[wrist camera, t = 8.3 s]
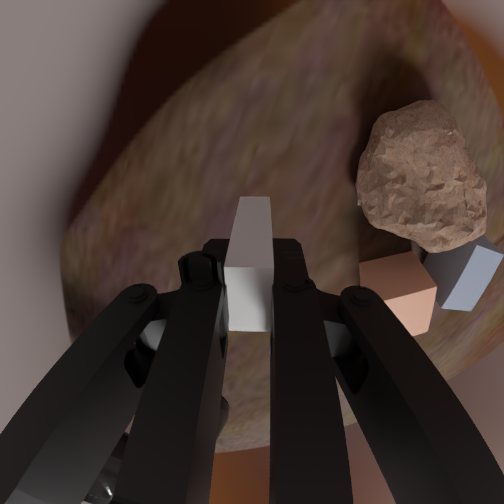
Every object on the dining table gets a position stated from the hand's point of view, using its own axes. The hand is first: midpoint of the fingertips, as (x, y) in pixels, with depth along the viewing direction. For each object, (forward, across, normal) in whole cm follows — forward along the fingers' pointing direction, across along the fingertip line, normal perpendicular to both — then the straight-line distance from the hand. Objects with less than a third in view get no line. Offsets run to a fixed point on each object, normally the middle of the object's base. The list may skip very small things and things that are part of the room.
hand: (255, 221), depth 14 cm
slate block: (+9, +21, -6) cm, 23 cm away
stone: (+9, +13, +1) cm, 16 cm away
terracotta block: (+9, +14, -10) cm, 19 cm away
